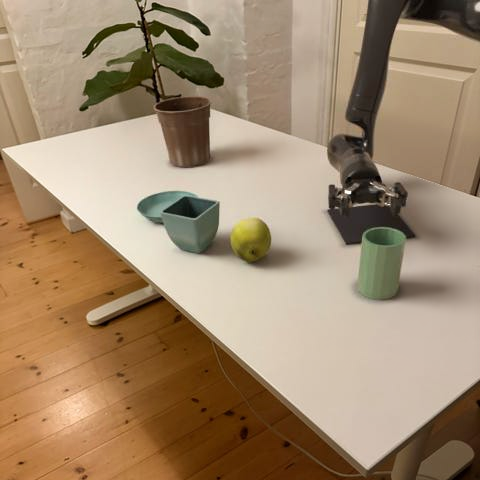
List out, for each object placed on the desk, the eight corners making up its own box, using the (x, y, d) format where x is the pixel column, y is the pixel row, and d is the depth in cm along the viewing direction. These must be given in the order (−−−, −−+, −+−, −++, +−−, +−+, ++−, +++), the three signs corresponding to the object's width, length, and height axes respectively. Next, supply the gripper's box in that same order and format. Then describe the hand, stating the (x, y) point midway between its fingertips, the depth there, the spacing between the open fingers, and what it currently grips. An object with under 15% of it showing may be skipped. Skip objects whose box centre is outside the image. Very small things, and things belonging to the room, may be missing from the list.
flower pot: (201, 261, 91) (195, 219, 86) (166, 252, 95) (158, 211, 89) (224, 241, 97) (220, 200, 91) (190, 233, 101) (184, 194, 95)
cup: (389, 276, 82) (397, 225, 76) (403, 297, 77) (412, 244, 71) (352, 280, 82) (357, 229, 76) (363, 302, 77) (369, 248, 70)
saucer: (146, 233, 103) (144, 222, 101) (133, 208, 114) (131, 198, 112) (209, 218, 106) (207, 207, 105) (190, 196, 117) (188, 185, 116)
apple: (269, 245, 94) (268, 208, 89) (274, 268, 87) (273, 229, 82) (231, 248, 94) (228, 211, 89) (233, 271, 87) (229, 233, 82)
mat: (388, 204, 105) (388, 202, 105) (415, 237, 92) (415, 235, 92) (327, 211, 105) (327, 209, 104) (346, 245, 92) (346, 242, 92)
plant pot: (210, 170, 131) (203, 110, 121) (156, 170, 134) (145, 111, 124) (222, 151, 143) (216, 95, 134) (172, 152, 146) (163, 97, 136)
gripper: (325, 161, 93) (332, 193, 81) (397, 158, 92) (416, 190, 79) (323, 196, 98) (330, 232, 85) (392, 194, 97) (409, 230, 84)
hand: (371, 212), depth 82 cm, fingers open, 8 cm apart
